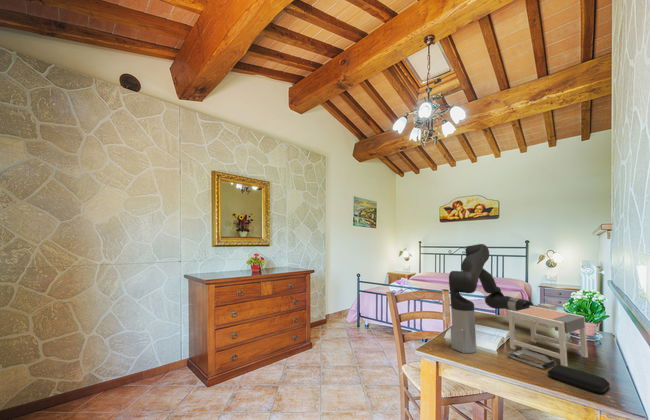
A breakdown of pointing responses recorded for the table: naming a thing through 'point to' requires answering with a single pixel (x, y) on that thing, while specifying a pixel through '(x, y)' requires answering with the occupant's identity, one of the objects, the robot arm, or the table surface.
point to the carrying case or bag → (579, 379)
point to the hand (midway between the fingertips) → (553, 314)
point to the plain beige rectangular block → (551, 307)
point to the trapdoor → (557, 318)
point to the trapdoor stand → (534, 336)
